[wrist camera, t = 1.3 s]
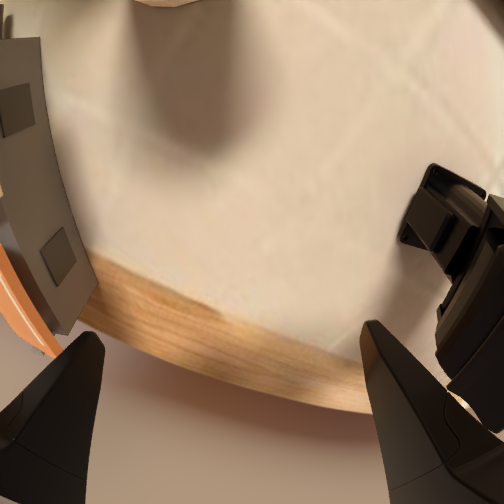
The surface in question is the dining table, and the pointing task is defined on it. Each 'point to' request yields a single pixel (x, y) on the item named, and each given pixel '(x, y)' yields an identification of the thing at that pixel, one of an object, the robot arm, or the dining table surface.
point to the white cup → (166, 2)
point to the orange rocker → (23, 311)
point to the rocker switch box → (37, 195)
